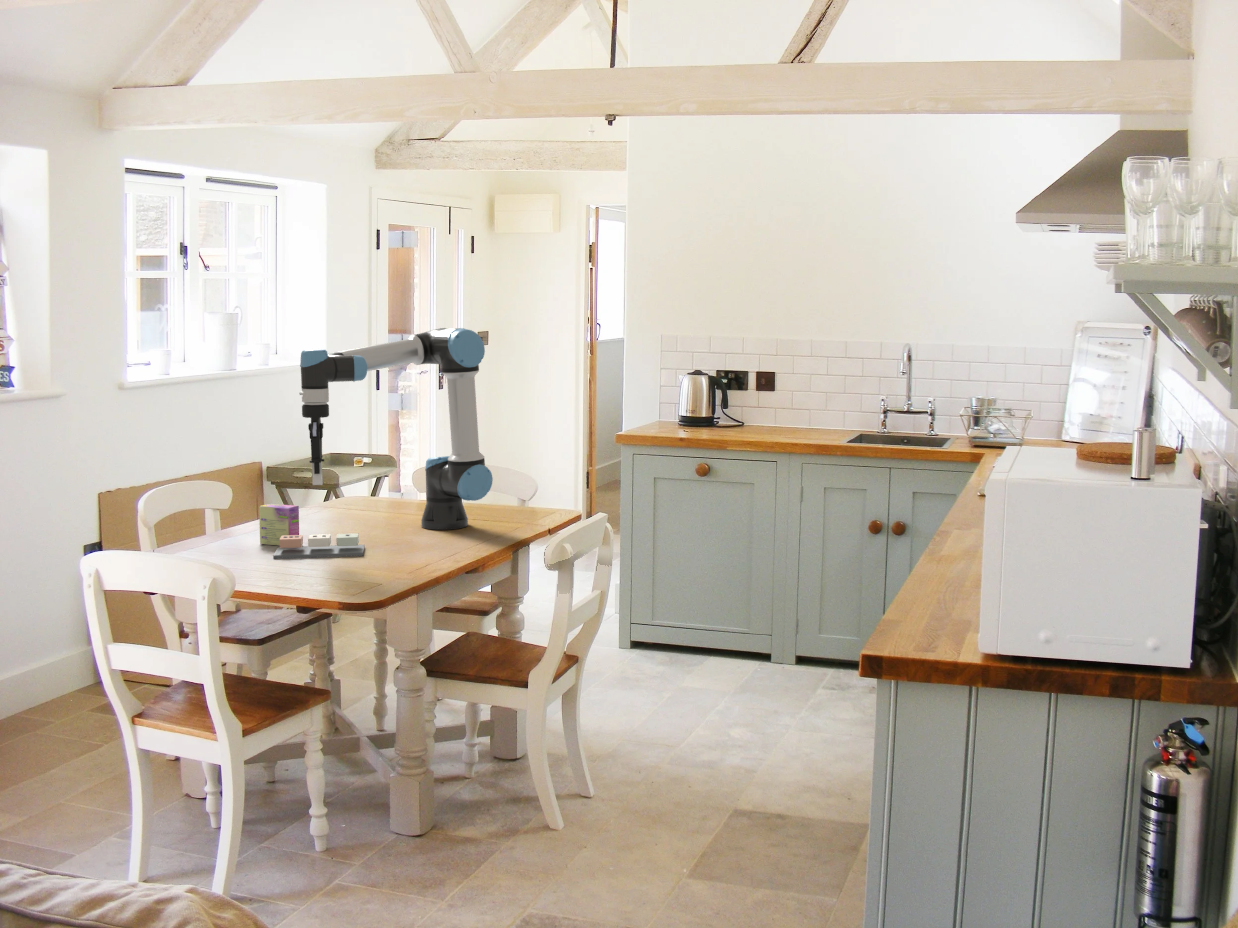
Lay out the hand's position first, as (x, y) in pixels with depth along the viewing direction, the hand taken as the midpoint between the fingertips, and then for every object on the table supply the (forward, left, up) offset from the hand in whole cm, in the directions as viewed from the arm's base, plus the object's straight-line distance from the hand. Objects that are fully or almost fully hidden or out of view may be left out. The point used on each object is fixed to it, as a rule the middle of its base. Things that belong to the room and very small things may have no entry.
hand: (317, 484), depth 346 cm
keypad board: (0, 0, -20) cm, 20 cm away
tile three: (+8, 0, -18) cm, 19 cm away
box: (+13, -16, -21) cm, 29 cm away
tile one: (-8, 0, -18) cm, 20 cm away
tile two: (0, 0, -18) cm, 18 cm away
